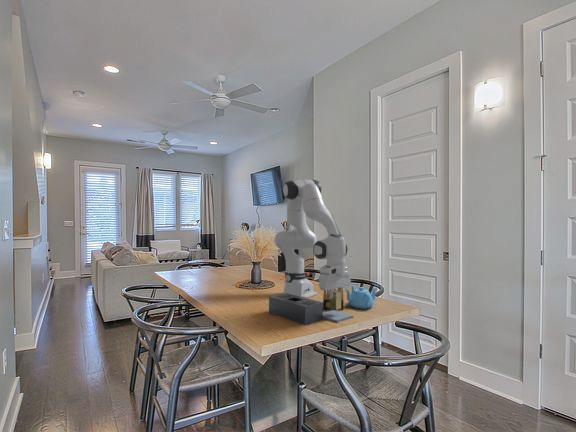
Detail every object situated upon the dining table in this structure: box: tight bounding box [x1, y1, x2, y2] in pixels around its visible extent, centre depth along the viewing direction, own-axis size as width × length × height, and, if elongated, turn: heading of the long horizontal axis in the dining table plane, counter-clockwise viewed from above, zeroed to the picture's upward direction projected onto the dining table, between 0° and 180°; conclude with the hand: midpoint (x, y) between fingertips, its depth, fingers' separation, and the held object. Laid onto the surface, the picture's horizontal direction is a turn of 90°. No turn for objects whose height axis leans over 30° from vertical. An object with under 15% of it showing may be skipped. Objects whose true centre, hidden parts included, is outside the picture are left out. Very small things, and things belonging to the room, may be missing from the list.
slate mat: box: [323, 310, 354, 323], centre depth 153 cm, size 12×12×1 cm
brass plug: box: [329, 289, 342, 311], centre depth 153 cm, size 4×4×8 cm
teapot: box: [344, 284, 378, 310], centre depth 174 cm, size 15×15×10 cm
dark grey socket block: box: [268, 293, 324, 326], centre depth 153 cm, size 12×24×8 cm, turn 44°
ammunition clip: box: [322, 288, 345, 311], centre depth 167 cm, size 11×2×12 cm, turn 91°
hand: (335, 297), depth 153 cm, fingers closed on brass plug, 4 cm apart
